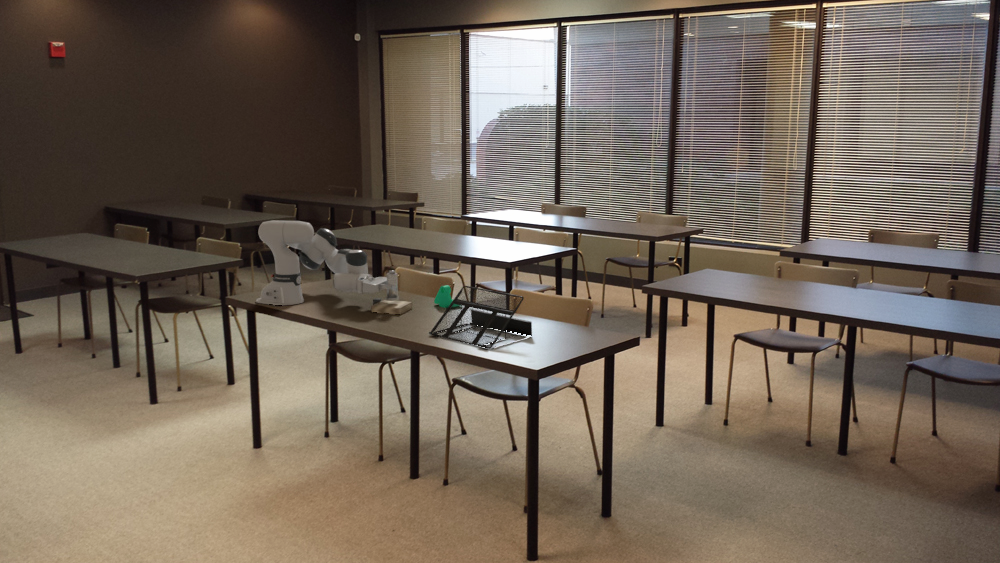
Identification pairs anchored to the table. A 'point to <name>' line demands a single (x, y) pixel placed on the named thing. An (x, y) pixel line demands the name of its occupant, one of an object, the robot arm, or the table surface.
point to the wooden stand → (391, 307)
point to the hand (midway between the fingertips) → (393, 285)
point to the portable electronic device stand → (483, 318)
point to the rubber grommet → (376, 301)
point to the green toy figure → (444, 297)
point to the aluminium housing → (392, 280)
